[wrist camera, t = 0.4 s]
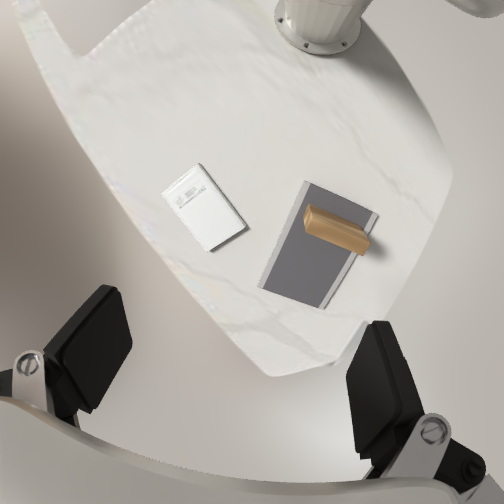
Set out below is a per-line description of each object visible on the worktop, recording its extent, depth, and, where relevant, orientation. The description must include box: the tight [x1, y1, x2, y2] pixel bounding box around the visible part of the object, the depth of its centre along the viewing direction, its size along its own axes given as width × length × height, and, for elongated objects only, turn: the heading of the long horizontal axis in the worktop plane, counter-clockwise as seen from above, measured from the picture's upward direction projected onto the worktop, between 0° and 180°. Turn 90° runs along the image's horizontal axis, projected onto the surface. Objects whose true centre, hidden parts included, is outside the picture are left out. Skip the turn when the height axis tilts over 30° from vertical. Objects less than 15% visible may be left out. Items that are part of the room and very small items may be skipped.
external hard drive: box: [161, 163, 246, 252], centre depth 43 cm, size 2×8×12 cm
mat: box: [257, 181, 378, 310], centre depth 44 cm, size 20×13×1 cm, turn 160°
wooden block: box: [303, 204, 370, 256], centre depth 38 cm, size 2×9×6 cm, turn 70°
